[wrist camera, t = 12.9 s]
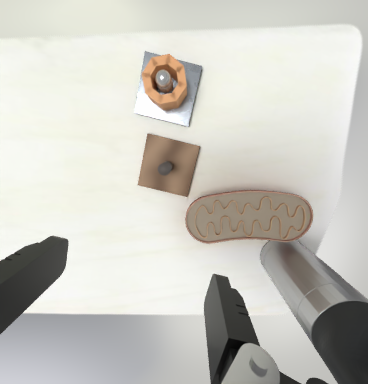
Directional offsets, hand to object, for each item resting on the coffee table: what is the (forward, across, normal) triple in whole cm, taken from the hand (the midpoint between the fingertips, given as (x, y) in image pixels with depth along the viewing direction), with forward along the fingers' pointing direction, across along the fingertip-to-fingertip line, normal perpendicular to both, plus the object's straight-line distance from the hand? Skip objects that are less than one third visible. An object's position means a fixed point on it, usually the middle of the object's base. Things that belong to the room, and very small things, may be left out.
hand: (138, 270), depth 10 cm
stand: (+28, +2, -3) cm, 28 cm away
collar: (+27, +5, -16) cm, 32 cm away
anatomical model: (+28, -14, +2) cm, 32 cm away
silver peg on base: (+28, +5, -16) cm, 33 cm away
